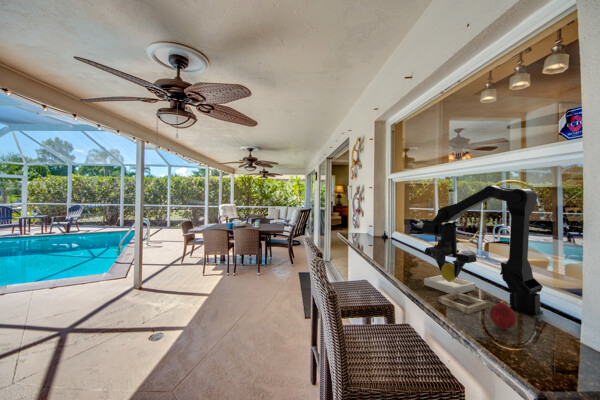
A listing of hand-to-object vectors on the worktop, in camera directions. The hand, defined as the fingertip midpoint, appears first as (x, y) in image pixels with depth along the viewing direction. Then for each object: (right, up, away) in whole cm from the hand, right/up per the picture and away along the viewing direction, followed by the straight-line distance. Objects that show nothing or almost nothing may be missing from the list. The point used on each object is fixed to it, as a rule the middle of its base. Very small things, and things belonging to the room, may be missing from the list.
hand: (449, 275), depth 102 cm
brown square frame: (-6, -5, -17) cm, 18 cm away
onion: (-5, -5, -33) cm, 34 cm away
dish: (0, -5, 0) cm, 5 cm away
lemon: (0, -3, 0) cm, 3 cm away
